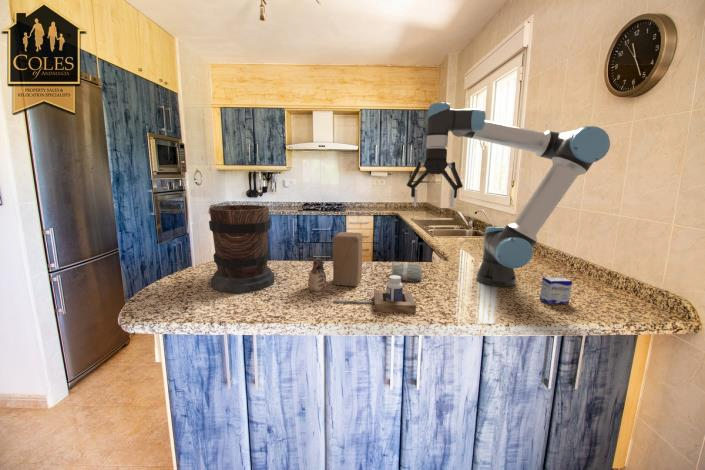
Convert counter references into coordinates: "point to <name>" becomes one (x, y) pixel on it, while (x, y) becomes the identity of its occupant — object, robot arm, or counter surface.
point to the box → (555, 290)
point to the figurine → (317, 277)
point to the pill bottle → (394, 289)
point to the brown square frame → (388, 302)
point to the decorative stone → (407, 271)
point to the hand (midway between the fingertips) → (433, 206)
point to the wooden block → (347, 259)
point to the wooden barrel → (241, 248)
